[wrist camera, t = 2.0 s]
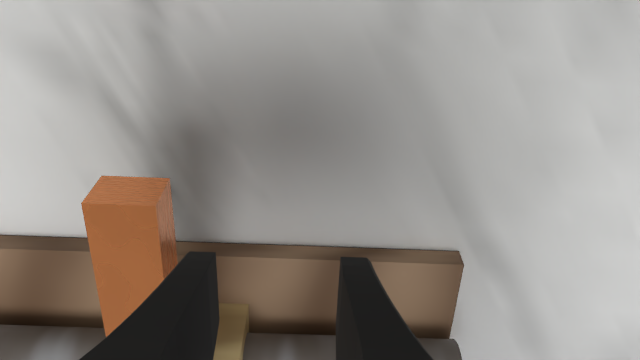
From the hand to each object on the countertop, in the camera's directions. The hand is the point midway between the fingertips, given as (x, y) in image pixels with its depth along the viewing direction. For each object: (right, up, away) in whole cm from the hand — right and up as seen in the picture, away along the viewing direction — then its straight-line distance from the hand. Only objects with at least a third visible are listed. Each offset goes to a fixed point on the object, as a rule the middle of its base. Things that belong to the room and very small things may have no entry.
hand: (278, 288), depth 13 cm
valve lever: (-5, -3, +7) cm, 9 cm away
